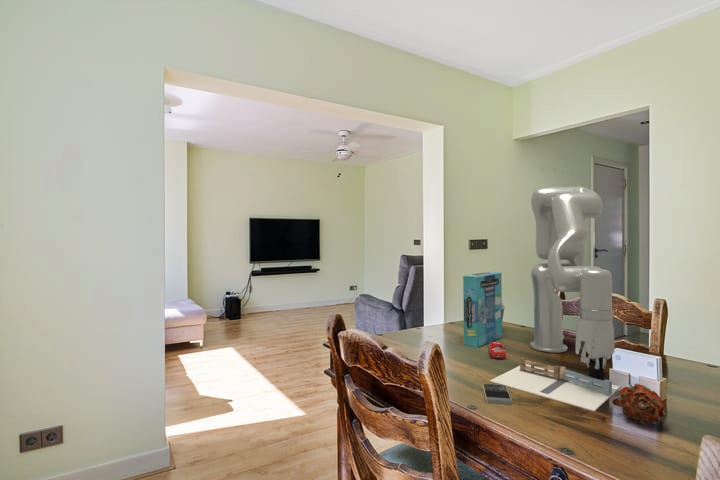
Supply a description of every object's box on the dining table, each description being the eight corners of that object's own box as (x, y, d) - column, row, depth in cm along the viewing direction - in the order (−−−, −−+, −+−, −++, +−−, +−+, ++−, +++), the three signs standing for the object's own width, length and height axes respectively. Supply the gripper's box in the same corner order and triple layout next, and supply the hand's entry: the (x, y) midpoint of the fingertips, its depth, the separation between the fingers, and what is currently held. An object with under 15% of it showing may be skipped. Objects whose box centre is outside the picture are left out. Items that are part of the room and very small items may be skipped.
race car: (507, 361, 131) (506, 349, 131) (490, 360, 133) (489, 348, 132) (503, 350, 144) (503, 339, 144) (488, 349, 145) (488, 338, 145)
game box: (488, 335, 165) (487, 271, 165) (502, 337, 160) (502, 272, 160) (463, 344, 150) (462, 275, 150) (478, 348, 146) (477, 276, 146)
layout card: (524, 364, 127) (524, 363, 127) (621, 386, 107) (621, 385, 107) (489, 381, 112) (489, 380, 112) (594, 411, 92) (594, 410, 92)
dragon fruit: (653, 441, 81) (623, 423, 93) (687, 418, 81) (652, 402, 93) (625, 406, 83) (598, 392, 95) (657, 383, 83) (626, 372, 95)
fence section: (520, 371, 120) (520, 358, 120) (522, 370, 121) (521, 357, 121) (558, 381, 112) (558, 367, 112) (559, 379, 113) (559, 366, 113)
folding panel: (559, 378, 112) (559, 366, 112) (562, 377, 112) (562, 366, 112) (608, 395, 100) (608, 381, 100) (611, 393, 100) (611, 380, 100)
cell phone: (505, 390, 107) (505, 384, 107) (512, 407, 96) (512, 401, 96) (482, 388, 108) (482, 383, 108) (486, 405, 98) (486, 399, 98)
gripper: (600, 310, 112) (601, 373, 112) (564, 314, 106) (564, 381, 106) (627, 314, 105) (628, 382, 105) (590, 320, 99) (590, 391, 99)
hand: (596, 381), depth 105 cm, fingers closed
